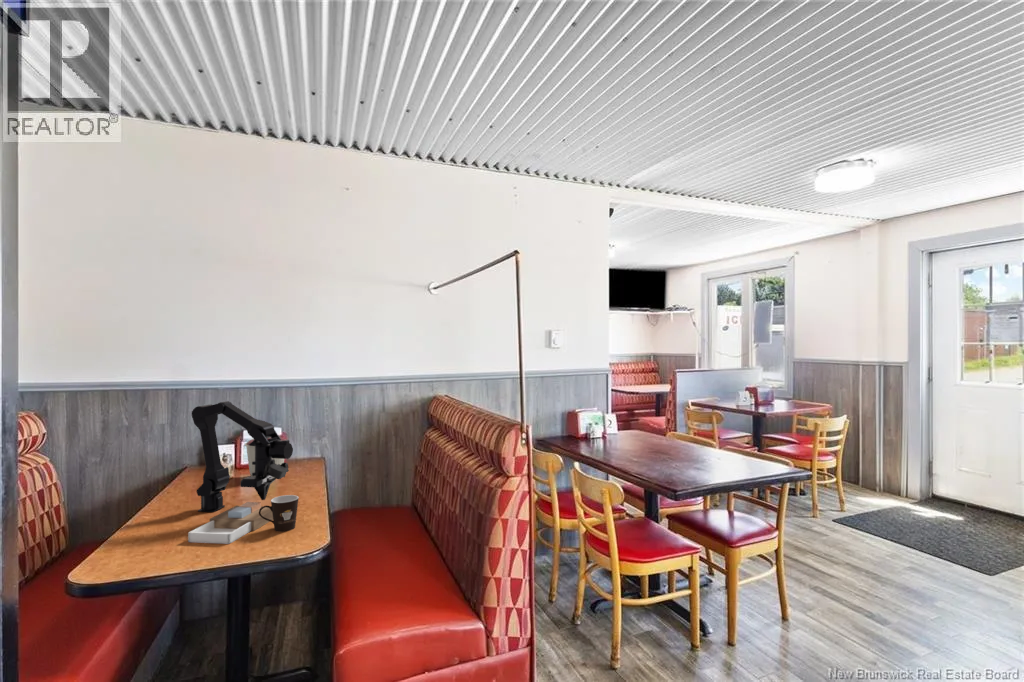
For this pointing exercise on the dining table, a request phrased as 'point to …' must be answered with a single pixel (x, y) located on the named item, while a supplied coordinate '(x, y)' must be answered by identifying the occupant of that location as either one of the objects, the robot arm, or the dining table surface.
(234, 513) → the slate tile
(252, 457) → the canister
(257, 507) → the terracotta tile
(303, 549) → the dining table surface
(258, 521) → the walnut board
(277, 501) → the coffee mug
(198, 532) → the tray
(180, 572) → the dining table surface
